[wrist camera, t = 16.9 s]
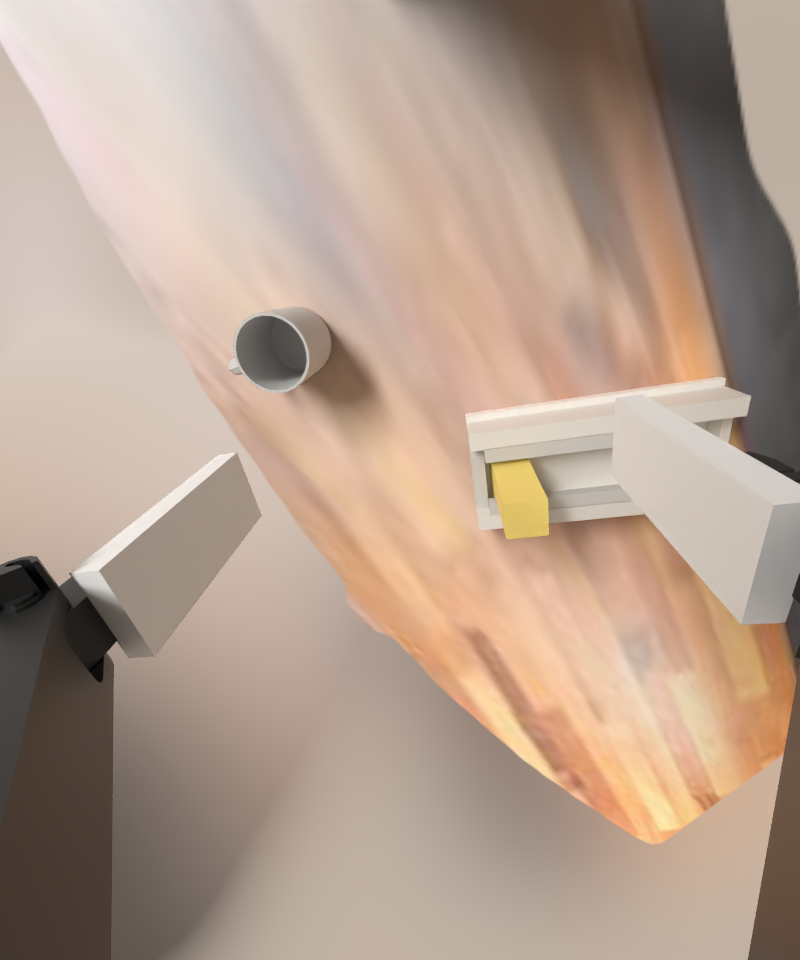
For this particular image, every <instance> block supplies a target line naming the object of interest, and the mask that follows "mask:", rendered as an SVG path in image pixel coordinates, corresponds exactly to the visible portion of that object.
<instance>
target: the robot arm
mask: <svg viewBox="0 0 800 960" xmlns="http://www.w3.org/2000/svg"><path fill="white" fill-rule="evenodd" d="M611 476H612V477H613V478H614V479H615V480H616V481H617V483H618V484H619V485H620V486H621V487H622V488H623V490H624V491H625V492H626V493H627V494H628V495H629V496H630V498H631V499H632V500H633V501H634V502H635V503H636V505H637V506H638V507H639V508H640V509H641V510H642V511H643V513H644V514H645V515H646V516H647V517H648V518H649V519H650V521H651V522H652V523H653V524H654V525H655V526H656V528H657V529H658V530H659V531H660V532H661V533H662V534H663V536H664V537H665V538H666V539H667V540H668V541H669V543H670V544H671V545H672V546H673V547H674V548H675V549H676V551H677V552H678V553H679V554H680V555H681V556H682V557H683V559H684V560H685V561H686V562H687V563H688V564H689V566H690V567H691V568H692V569H693V570H694V571H695V572H696V574H697V575H698V576H699V577H700V578H701V579H702V581H703V582H704V583H705V584H706V585H707V586H708V587H709V589H710V590H711V591H712V592H713V593H714V594H715V595H716V597H717V598H718V599H719V600H720V601H721V602H722V604H723V605H724V606H725V607H726V608H727V609H728V610H729V612H730V613H731V614H732V615H733V616H734V617H735V619H736V620H737V621H738V622H739V623H740V624H741V625H749V624H768V623H785V622H786V619H787V616H788V613H789V610H790V607H791V605H792V602H793V599H796V600H797V601H798V602H799V603H800V472H795V469H793V468H791V467H789V466H787V465H785V464H783V463H782V462H780V461H778V460H776V459H773V458H770V457H766V456H763V455H759V454H756V453H753V452H742V451H741V450H739V449H737V448H735V447H734V446H732V445H730V444H728V443H727V442H725V441H723V440H721V439H720V438H718V437H716V436H714V435H713V434H711V433H709V432H707V431H706V430H704V429H702V428H700V427H699V426H697V425H695V424H693V423H692V422H690V421H688V420H686V419H685V418H683V417H681V416H679V415H678V414H676V413H674V412H672V411H671V410H669V409H667V408H666V407H664V406H662V405H660V404H659V403H657V402H655V401H653V400H652V399H650V398H648V397H646V396H645V395H643V394H638V395H631V396H624V397H617V398H616V401H615V418H614V435H613V452H612V469H611ZM261 516H262V515H261V513H260V510H259V508H258V505H257V502H256V500H255V497H254V495H253V492H252V490H251V487H250V485H249V482H248V480H247V477H246V474H245V472H244V469H243V467H242V465H241V462H240V459H239V457H238V454H237V453H230V454H223V455H218V456H216V458H214V459H213V460H211V461H210V462H209V463H208V464H206V465H205V466H204V467H203V468H201V469H200V470H199V471H198V472H196V473H195V474H194V475H193V476H191V477H190V478H189V479H187V480H186V481H185V482H184V483H182V484H181V485H180V486H179V487H178V488H176V489H175V490H174V491H172V492H171V493H170V494H169V495H167V496H166V497H165V498H164V499H162V500H161V501H160V502H159V503H157V504H156V505H155V506H153V507H152V508H151V509H150V510H148V511H147V512H146V513H145V514H143V515H142V516H141V517H140V518H139V519H137V520H136V521H135V522H134V523H132V524H131V525H130V526H128V527H127V528H126V529H125V530H123V531H122V532H121V533H119V534H118V535H117V536H116V537H114V538H113V539H112V540H111V541H109V542H108V543H107V544H106V545H104V546H103V547H102V548H101V549H99V550H98V551H97V552H96V553H94V554H93V555H92V556H90V557H89V558H88V559H87V560H85V561H84V562H83V563H82V564H81V565H79V566H78V567H77V568H75V569H74V570H73V571H72V572H71V573H69V574H70V575H71V576H72V577H71V578H70V579H68V580H67V581H66V582H65V583H63V584H62V585H61V586H60V587H59V586H58V585H57V584H56V582H55V581H54V579H53V578H52V577H51V575H50V574H49V573H48V571H47V570H46V569H45V567H44V566H43V564H42V563H41V562H40V560H39V559H38V558H37V557H35V556H28V557H21V558H18V559H15V560H12V561H9V562H6V563H4V564H2V565H0V960H111V900H112V899H111V897H112V895H111V894H112V791H113V790H112V788H113V787H112V786H113V685H114V684H113V683H114V681H113V679H114V664H113V661H112V659H111V658H110V656H109V655H108V654H107V651H108V650H109V649H110V648H111V647H112V646H113V644H114V643H115V642H116V641H117V642H118V644H119V645H120V646H121V648H122V649H123V651H124V652H125V654H126V655H127V656H128V658H136V657H154V656H156V654H157V653H158V652H159V650H160V649H161V648H162V647H163V645H164V644H165V643H166V641H167V640H168V639H169V637H170V636H171V635H172V633H173V632H174V631H175V629H176V628H177V627H178V625H179V624H180V623H181V621H182V620H183V619H184V617H185V616H186V615H187V613H188V612H189V611H190V609H191V608H192V607H193V606H194V604H195V602H197V600H198V599H199V598H200V596H201V595H202V593H203V592H204V591H205V590H206V588H207V587H208V586H209V584H210V583H211V582H212V580H213V579H214V578H215V576H216V575H217V574H218V572H219V571H220V570H221V568H222V567H223V566H224V564H225V563H226V562H227V561H228V559H229V558H230V557H231V555H232V554H233V552H234V551H235V550H236V549H237V547H238V546H239V544H240V543H241V542H242V541H243V539H244V538H245V537H246V535H247V534H248V533H249V531H250V530H251V529H252V527H253V526H254V525H255V523H256V522H257V521H258V519H259V518H260V517H261ZM796 657H797V658H800V646H799V649H798V651H797V654H796ZM748 960H800V666H799V671H798V677H797V683H796V688H795V694H794V700H793V706H792V711H791V717H790V723H789V728H788V734H787V740H786V745H785V751H784V757H783V763H782V768H781V775H780V780H779V785H778V791H777V797H776V802H775V809H774V814H773V820H772V825H771V831H770V837H769V843H768V848H767V854H766V859H765V865H764V871H763V877H762V882H761V888H760V894H759V899H758V905H757V911H756V917H755V922H754V928H753V934H752V939H751V945H750V951H749V956H748Z"/></svg>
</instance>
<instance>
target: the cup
mask: <svg viewBox="0 0 800 960" xmlns="http://www.w3.org/2000/svg"><path fill="white" fill-rule="evenodd" d="M233 350H234V357H235V358H233V359H232V360H231V361H230V362H229V363H228V368H229V371H231V372H232V373H233V374H234V375H241V374H243V375H244V376H245V377H246V378H247V379H248V380H249V381H250V382H251V383H252V384H253V385H255V386H256V387H258V388H260V389H262V390H265V391H268V392H272V393H283V392H288V391H290V390H292V389H294V388H296V387H297V386H299V385H300V384H301V383H303V382H304V381H305V380H307V379H308V378H309V377H311V376H312V375H313V374H315V373H316V372H317V371H319V370H320V369H321V368H322V367H323V366H324V365H325V364H326V362H327V360H328V358H329V356H330V352H331V336H330V333H329V330H328V328H327V326H326V324H325V322H324V321H323V320H322V319H321V318H320V317H319V316H318V315H317V314H315V313H314V312H313V311H311V310H308V309H306V308H303V307H288V308H283V309H277V310H272V311H267V312H262V313H257V314H253V315H251V316H249V317H248V318H246V319H244V321H243V322H242V323H241V324H240V325H239V326H238V328H237V331H236V333H235V335H234V342H233Z"/></svg>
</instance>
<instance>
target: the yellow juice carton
mask: <svg viewBox="0 0 800 960" xmlns="http://www.w3.org/2000/svg"><path fill="white" fill-rule="evenodd" d="M490 467H491V477H492V488H493V495H494V498H496V501H497V505H498V509H499V512H500V516H501V520H502V524H503V528H504V532H505V536H506V539H515V538H526V537H536V536H547V535H549V516H548V498H547V496H546V494H545V492H544V490H543V488H542V486H541V484H540V482H539V480H538V478H537V476H536V473H535V471H534V469H533V467H532V465H531V463H530V461H529V459H528V458H525V459H517V460H509V461H501V462H493V463H490Z"/></svg>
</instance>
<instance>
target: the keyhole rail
mask: <svg viewBox="0 0 800 960" xmlns="http://www.w3.org/2000/svg"><path fill="white" fill-rule="evenodd" d="M725 380H726V378H723V377H720V376H719V377H712V378H705V379H698V380H692V381H685V382H678V383H671V384H664V385H658V386H651V387H644V388H637V389H630V390H623V391H617V392H610V393H603V394H596V395H589V396H583V397H576V398H569V399H562V400H555V401H549V402H542V403H535V404H528V405H521V406H514V407H508V408H501V409H494V410H487V411H480V412H474V413H467V414H465V417H466V425H467V434H468V443H469V452H470V461H471V469H472V478H473V487H474V496H475V505H476V514H477V519H478V525H479V530H489V529H499V528H503V524H502V520H501V516H500V512H499V509H498V505H497V501H496V498H494V495H493V488H492V477H491V467H490V463H493V462H501V461H509V460H517V459H525V458H528V459H529V461H530V463H531V465H532V467H533V469H534V471H535V473H536V476H537V478H538V480H539V482H540V484H541V486H542V488H543V490H544V492H545V494H546V496H547V498H548V516H549V524H550V523H560V522H570V521H581V520H591V519H601V518H611V517H621V516H631V515H642V514H644V513H643V511H642V510H641V509H640V508H639V507H638V506H637V505H636V503H635V502H634V501H633V500H632V499H631V498H630V496H629V495H628V494H627V493H626V492H625V491H624V490H623V488H622V487H621V486H620V485H619V484H618V483H617V481H616V480H615V479H614V478H613V477H612V476H611V469H612V452H613V435H614V418H615V401H616V398H617V397H624V396H631V395H638V394H643V395H645V396H646V397H648V398H650V399H652V400H653V401H655V402H657V403H659V404H660V405H662V406H664V407H666V408H667V409H669V410H671V411H672V412H674V413H676V414H678V415H679V416H681V417H683V418H685V419H686V420H688V421H690V422H692V423H693V424H695V425H697V426H699V427H700V428H702V429H704V430H706V431H707V432H709V433H711V434H713V435H714V436H716V437H718V438H720V439H721V440H723V441H725V442H727V443H728V442H729V437H730V432H731V427H732V422H733V418H735V417H742V416H747V413H748V408H749V404H750V399H751V396H750V395H747V394H744V393H742V392H739V391H736V390H734V389H731V388H728V387H726V386H725Z"/></svg>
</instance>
